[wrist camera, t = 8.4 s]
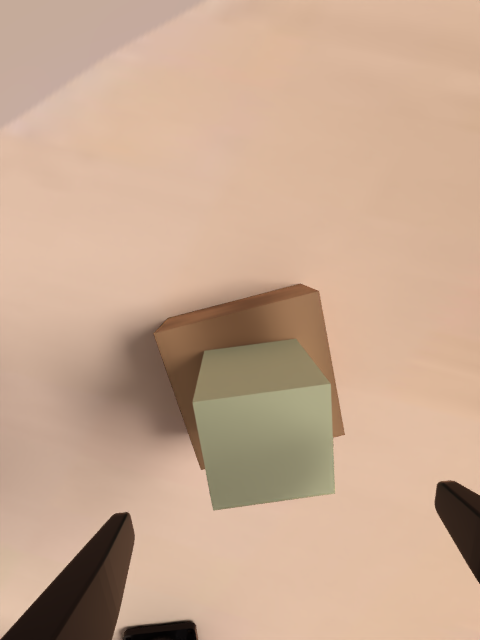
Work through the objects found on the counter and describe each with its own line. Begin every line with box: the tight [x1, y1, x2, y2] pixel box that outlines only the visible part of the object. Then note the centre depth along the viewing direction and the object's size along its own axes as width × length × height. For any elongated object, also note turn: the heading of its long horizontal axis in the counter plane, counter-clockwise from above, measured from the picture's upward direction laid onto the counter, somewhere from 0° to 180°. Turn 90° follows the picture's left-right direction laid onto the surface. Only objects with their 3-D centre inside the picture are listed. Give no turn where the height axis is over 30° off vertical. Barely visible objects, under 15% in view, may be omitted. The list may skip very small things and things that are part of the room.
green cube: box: [192, 339, 335, 510], centre depth 13 cm, size 5×5×5 cm
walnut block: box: [154, 284, 345, 470], centre depth 17 cm, size 9×9×4 cm
